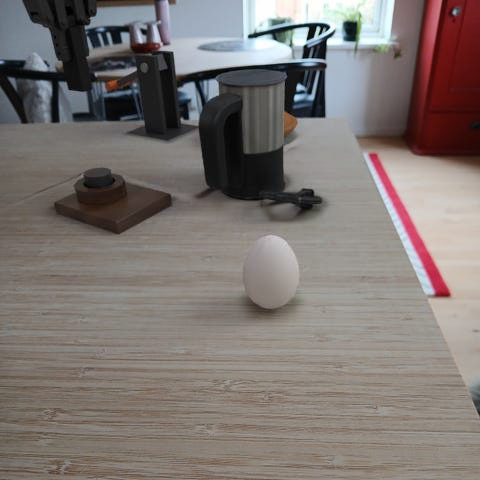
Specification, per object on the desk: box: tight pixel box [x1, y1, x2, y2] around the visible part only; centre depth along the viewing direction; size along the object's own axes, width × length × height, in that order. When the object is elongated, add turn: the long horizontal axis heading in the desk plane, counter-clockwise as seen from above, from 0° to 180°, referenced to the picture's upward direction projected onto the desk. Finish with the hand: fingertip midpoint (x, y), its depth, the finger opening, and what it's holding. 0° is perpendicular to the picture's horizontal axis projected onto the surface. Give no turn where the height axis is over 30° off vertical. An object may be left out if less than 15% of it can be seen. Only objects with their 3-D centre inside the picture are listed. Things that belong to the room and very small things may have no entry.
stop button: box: [83, 166, 113, 188], centre depth 68 cm, size 4×4×2 cm
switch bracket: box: [127, 49, 199, 142], centre depth 91 cm, size 10×9×14 cm
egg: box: [242, 234, 300, 310], centre depth 48 cm, size 5×5×7 cm
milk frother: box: [198, 68, 323, 210], centre depth 66 cm, size 14×16×15 cm
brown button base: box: [53, 172, 173, 235], centre depth 68 cm, size 12×10×4 cm
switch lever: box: [104, 54, 167, 92], centre depth 91 cm, size 13×5×2 cm, turn 55°
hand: (80, 89), depth 61 cm, fingers closed
